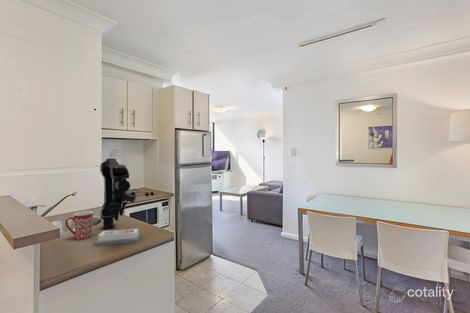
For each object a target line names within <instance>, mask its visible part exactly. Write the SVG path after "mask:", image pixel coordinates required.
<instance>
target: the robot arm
mask: <svg viewBox="0 0 470 313" xmlns="http://www.w3.org/2000/svg"><path fill="white" fill-rule="evenodd" d="M99 171H100V173H101V175H102V177H103V179H104V182H103V183H104V202H103V204H102V206H101V209H100V213H99V219H100V220H102V225H103V226H101V228H100V229H101V230H107V229H108V230H112V229H114V227H116V224H114V223H115V222H114V220H115V221H116V222H117V221H119V217H120V216H121V217H123V215H124V211H125V207H126V205H127V204H128V203H129V202H130V203H132V204H133V203H135V201H136V199H137V195H136V192H134V191H131V193H129V192H127V191H129V189H130V188H131V183H130V181H128V180H127V179H129V178H130V172H129V170H128V168H127V166H126V165H124V164H120V163H119V162H118V161H117V159H116V158H111V157H110V158H106V159H105V160H104V161H103V162H101V163H100V166H99Z"/></svg>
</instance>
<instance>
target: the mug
mask: <svg viewBox="0 0 470 313" xmlns="http://www.w3.org/2000/svg"><path fill="white" fill-rule="evenodd" d="M93 215H94V212H93V211H91V210H87V211H86V210H85V211H78V212H75V213H73V216H69V217H68V218H66V220H65V227H66V228H67V229H68V231H69V232H70V233H71V234H73V235H74V237H75V238H74V239H75V240H80V241H81V240H87V239H89V238H91V237H92V228H93ZM69 220H72V221H73V222H74V230H73V229H71V227H70V226H69V224H68V222H69Z"/></svg>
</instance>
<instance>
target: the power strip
mask: <svg viewBox="0 0 470 313" xmlns="http://www.w3.org/2000/svg"><path fill="white" fill-rule="evenodd" d="M130 229H131V232H129V233H127V229H116V230H114V229H113V230H111V234H106V231H107V230H102V231H101V232H100V233H99V234H98V235H97V236H98V238H97V240H98V241H110V240H122V239H134V238H137V236H138V233H139V228H130Z"/></svg>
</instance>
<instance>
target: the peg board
mask: <svg viewBox="0 0 470 313" xmlns="http://www.w3.org/2000/svg"><path fill="white" fill-rule="evenodd" d="M131 229H132V228H127V229H126V230H127V233H129V232H131ZM105 231H106V234H111V231H112V229H108V230H105ZM141 235H142V232H138V236H137V238H134V239H122V240H110V241H98V239H97V240H96V241H95V242H94V247H100V246H111V245H123V244H133V243H138V242H139V240H140V238H141Z"/></svg>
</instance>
